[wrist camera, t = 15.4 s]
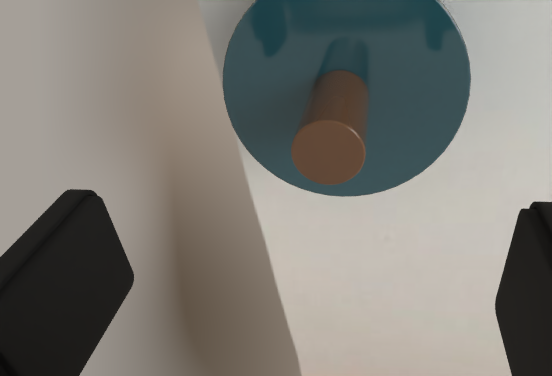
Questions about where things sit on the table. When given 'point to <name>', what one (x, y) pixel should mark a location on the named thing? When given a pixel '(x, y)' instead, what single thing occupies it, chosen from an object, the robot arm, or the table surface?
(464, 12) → the table surface
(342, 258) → the table surface
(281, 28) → the lid
